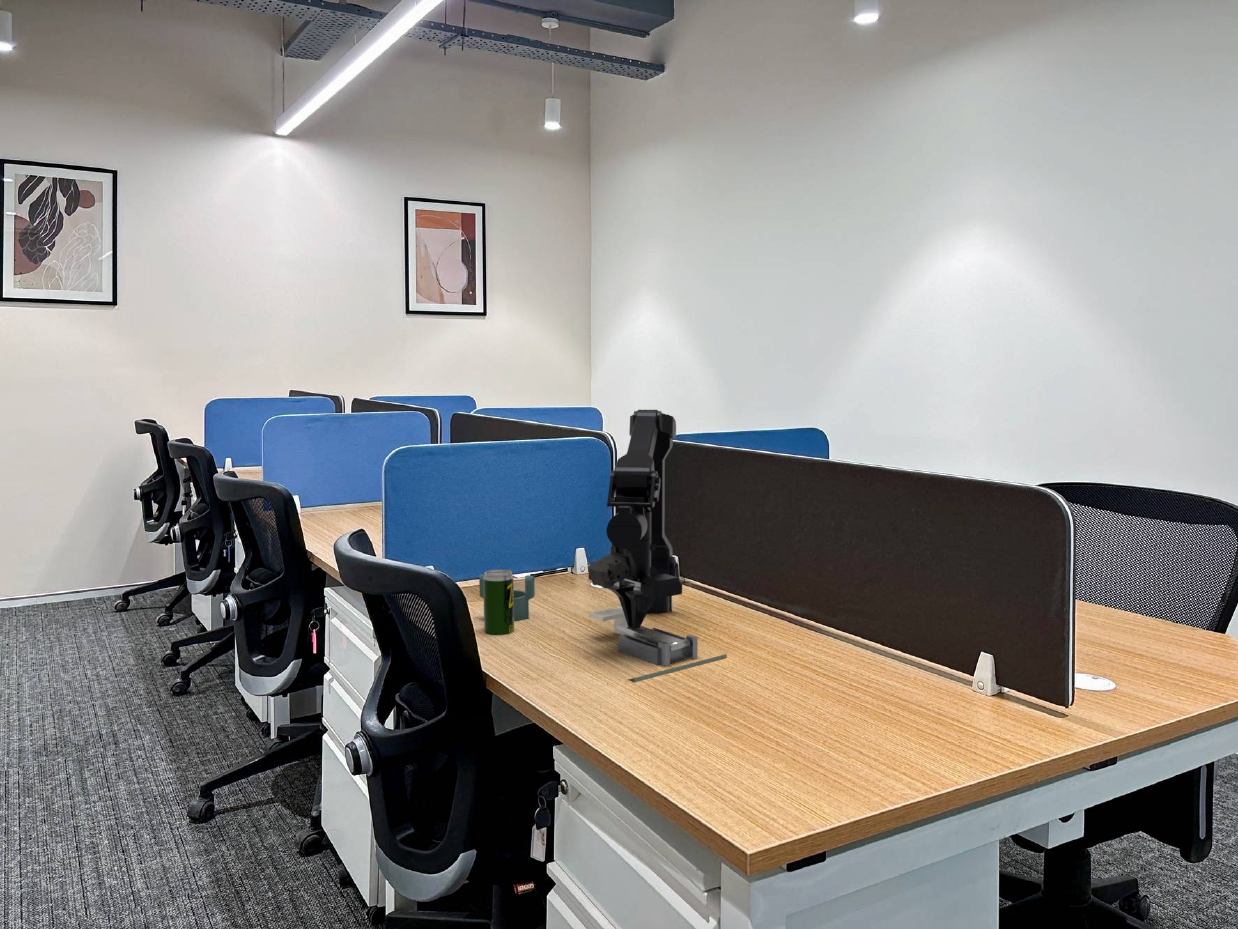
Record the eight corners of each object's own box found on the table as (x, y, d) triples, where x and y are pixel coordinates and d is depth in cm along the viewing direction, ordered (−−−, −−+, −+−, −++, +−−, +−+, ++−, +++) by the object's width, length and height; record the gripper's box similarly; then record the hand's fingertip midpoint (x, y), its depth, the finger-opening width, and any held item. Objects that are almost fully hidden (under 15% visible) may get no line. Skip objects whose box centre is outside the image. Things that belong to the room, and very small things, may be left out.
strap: (632, 627, 162) (633, 620, 162) (690, 648, 151) (690, 640, 151) (614, 631, 160) (614, 623, 160) (671, 653, 148) (671, 644, 148)
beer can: (484, 642, 166) (483, 576, 165) (484, 634, 171) (483, 569, 170) (514, 641, 167) (513, 575, 166) (513, 632, 172) (512, 568, 171)
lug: (627, 629, 169) (626, 605, 169) (641, 634, 166) (641, 609, 166) (589, 637, 164) (589, 612, 164) (603, 642, 161) (603, 617, 161)
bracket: (537, 622, 180) (537, 576, 179) (493, 628, 175) (493, 581, 175) (518, 612, 188) (518, 568, 187) (475, 618, 183) (475, 573, 182)
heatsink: (654, 643, 161) (654, 622, 161) (699, 658, 152) (699, 636, 152) (618, 652, 156) (618, 630, 156) (662, 668, 147) (662, 644, 147)
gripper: (563, 535, 160) (563, 624, 161) (631, 552, 145) (631, 649, 147) (614, 528, 167) (614, 614, 168) (684, 544, 152) (684, 637, 153)
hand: (633, 628), depth 159 cm, fingers closed on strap
